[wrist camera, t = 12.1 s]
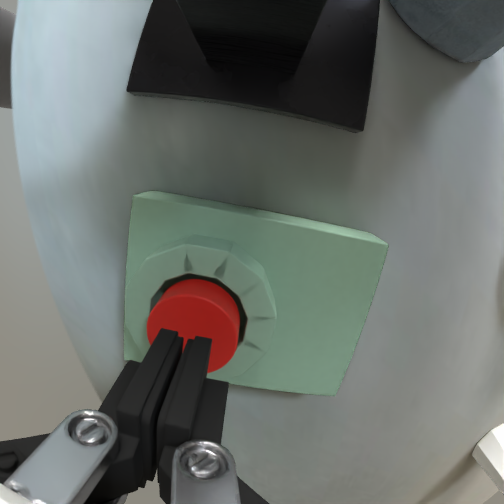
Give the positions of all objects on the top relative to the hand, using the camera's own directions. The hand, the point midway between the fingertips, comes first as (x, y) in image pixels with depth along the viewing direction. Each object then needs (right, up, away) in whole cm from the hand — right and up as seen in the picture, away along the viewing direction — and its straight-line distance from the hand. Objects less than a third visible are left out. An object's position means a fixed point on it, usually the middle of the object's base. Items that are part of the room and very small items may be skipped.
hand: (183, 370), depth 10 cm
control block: (+2, +2, +8) cm, 8 cm away
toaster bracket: (+3, +15, +4) cm, 16 cm away
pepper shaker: (+29, -17, +12) cm, 36 cm away
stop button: (0, +1, +4) cm, 4 cm away
